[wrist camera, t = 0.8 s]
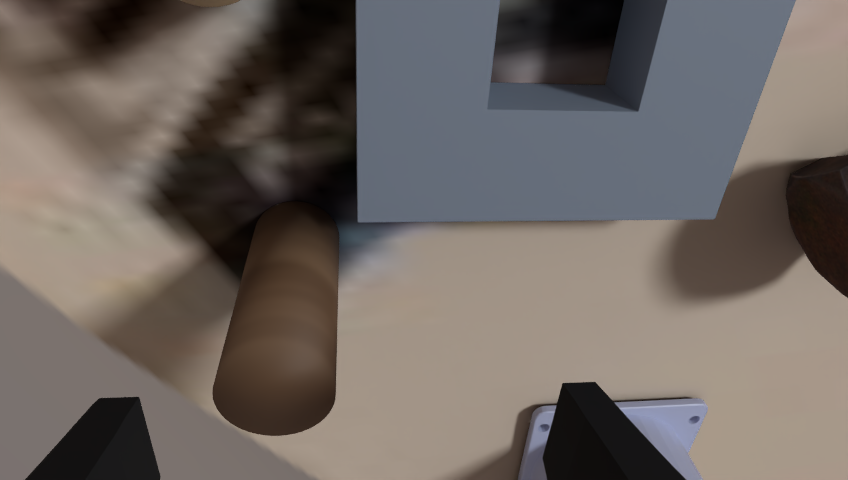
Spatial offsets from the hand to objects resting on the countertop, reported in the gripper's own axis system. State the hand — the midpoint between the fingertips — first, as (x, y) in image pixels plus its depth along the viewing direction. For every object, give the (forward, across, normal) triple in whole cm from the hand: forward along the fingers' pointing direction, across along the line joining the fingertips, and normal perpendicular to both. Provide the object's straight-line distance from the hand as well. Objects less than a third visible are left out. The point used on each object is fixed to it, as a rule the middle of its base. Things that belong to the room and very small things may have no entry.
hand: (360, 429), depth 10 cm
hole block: (+10, -6, -5) cm, 13 cm away
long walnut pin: (+10, +2, +2) cm, 10 cm away
